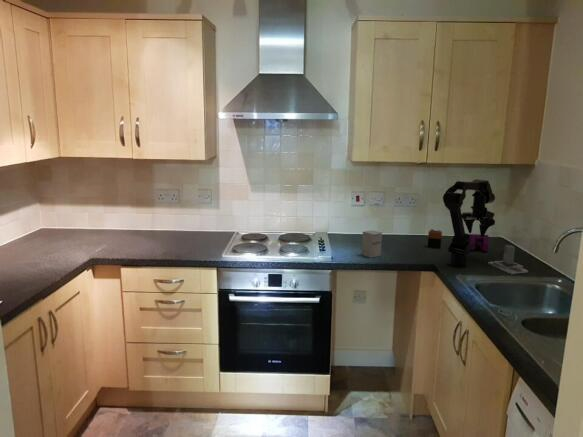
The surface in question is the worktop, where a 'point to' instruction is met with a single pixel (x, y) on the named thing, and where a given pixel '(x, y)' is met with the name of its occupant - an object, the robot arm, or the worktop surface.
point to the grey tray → (510, 269)
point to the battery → (434, 239)
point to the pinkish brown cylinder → (371, 243)
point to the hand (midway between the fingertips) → (476, 235)
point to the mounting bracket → (479, 242)
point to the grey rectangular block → (508, 255)
